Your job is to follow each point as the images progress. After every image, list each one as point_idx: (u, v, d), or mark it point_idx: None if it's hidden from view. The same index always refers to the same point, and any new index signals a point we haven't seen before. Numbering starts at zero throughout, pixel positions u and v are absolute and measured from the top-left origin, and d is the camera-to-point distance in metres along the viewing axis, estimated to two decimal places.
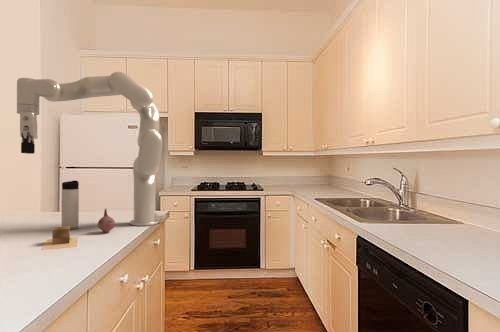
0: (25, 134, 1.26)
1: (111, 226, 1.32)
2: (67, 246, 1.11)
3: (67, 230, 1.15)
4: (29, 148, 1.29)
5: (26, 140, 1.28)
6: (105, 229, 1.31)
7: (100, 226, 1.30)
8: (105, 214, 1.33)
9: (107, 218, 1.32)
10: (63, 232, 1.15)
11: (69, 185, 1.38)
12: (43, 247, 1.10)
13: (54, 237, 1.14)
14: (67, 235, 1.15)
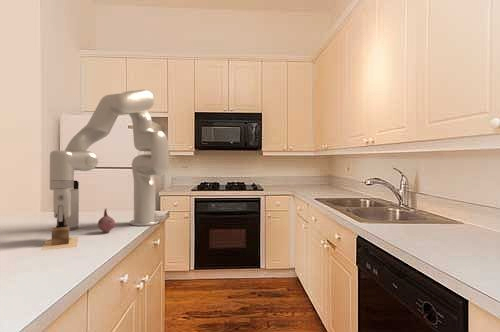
0: (61, 222, 1.16)
1: (111, 226, 1.32)
2: (67, 246, 1.11)
3: (66, 231, 1.14)
4: None
5: (62, 224, 1.18)
6: (105, 229, 1.31)
7: (100, 226, 1.30)
8: (105, 214, 1.33)
9: (107, 218, 1.32)
10: (62, 233, 1.14)
11: None
12: (43, 247, 1.10)
13: (53, 237, 1.13)
14: (66, 236, 1.14)
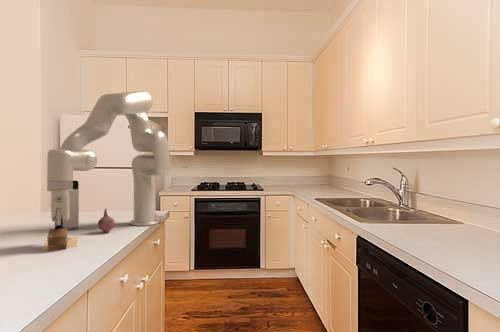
0: (59, 225, 1.09)
1: (111, 226, 1.32)
2: (67, 246, 1.11)
3: (63, 237, 1.07)
4: None
5: (60, 227, 1.11)
6: (105, 229, 1.31)
7: (100, 226, 1.30)
8: (105, 214, 1.33)
9: (107, 218, 1.32)
10: (59, 239, 1.06)
11: None
12: (43, 247, 1.10)
13: (50, 244, 1.06)
14: (64, 242, 1.07)
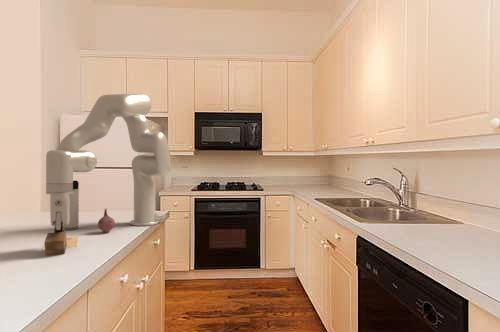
0: (59, 230, 1.04)
1: (111, 226, 1.32)
2: (67, 246, 1.11)
3: (61, 242, 1.01)
4: None
5: None
6: (105, 229, 1.31)
7: (100, 226, 1.30)
8: (105, 214, 1.33)
9: (107, 218, 1.32)
10: (57, 244, 1.01)
11: None
12: (43, 247, 1.10)
13: (47, 248, 1.00)
14: (62, 247, 1.02)
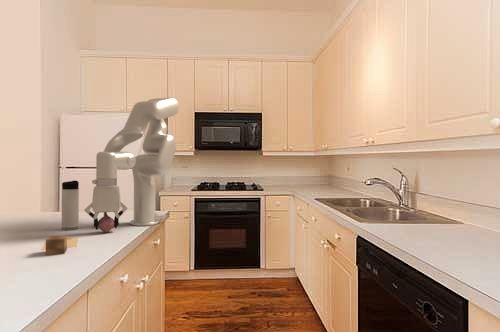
0: (86, 212, 1.30)
1: (111, 226, 1.32)
2: (67, 246, 1.11)
3: (62, 240, 1.03)
4: (95, 224, 1.30)
5: None
6: (105, 229, 1.31)
7: (100, 226, 1.30)
8: (105, 214, 1.33)
9: (107, 218, 1.32)
10: (58, 243, 1.02)
11: (69, 185, 1.37)
12: (43, 247, 1.10)
13: (48, 248, 1.01)
14: (62, 246, 1.03)
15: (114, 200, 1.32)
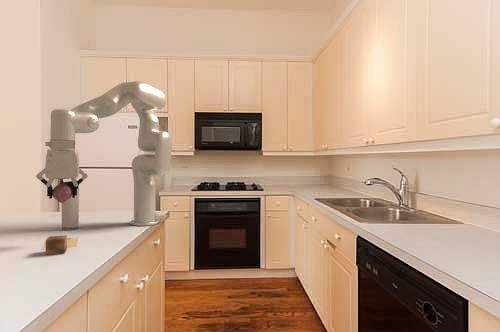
0: None
1: (67, 195, 1.15)
2: (67, 246, 1.11)
3: (62, 240, 1.03)
4: (49, 193, 1.13)
5: None
6: (60, 199, 1.14)
7: (54, 195, 1.13)
8: (61, 181, 1.15)
9: (63, 186, 1.14)
10: (58, 242, 1.02)
11: (69, 185, 1.38)
12: (43, 247, 1.10)
13: (48, 248, 1.01)
14: (62, 246, 1.03)
15: (71, 165, 1.14)
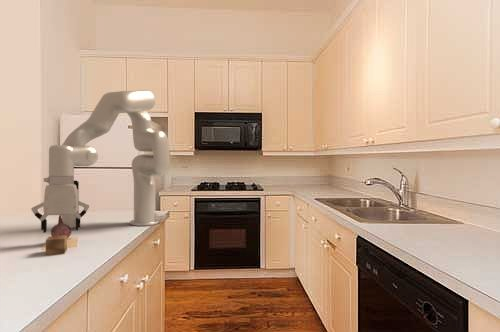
0: (33, 211, 1.12)
1: None
2: (67, 246, 1.11)
3: (62, 240, 1.03)
4: (43, 227, 1.12)
5: None
6: None
7: (53, 235, 1.13)
8: (59, 221, 1.15)
9: (61, 226, 1.14)
10: (58, 243, 1.02)
11: None
12: (43, 247, 1.10)
13: (48, 248, 1.01)
14: (62, 246, 1.03)
15: (70, 201, 1.14)
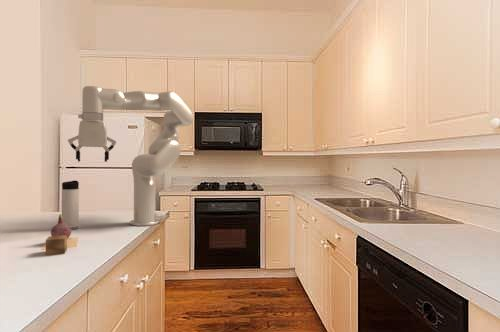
0: (69, 143, 1.29)
1: None
2: (67, 246, 1.11)
3: (62, 240, 1.03)
4: (77, 156, 1.30)
5: (73, 148, 1.30)
6: None
7: (53, 235, 1.13)
8: (59, 221, 1.15)
9: (61, 226, 1.14)
10: (58, 242, 1.02)
11: (69, 185, 1.38)
12: (43, 247, 1.10)
13: (48, 248, 1.01)
14: (62, 246, 1.03)
15: (100, 135, 1.32)
